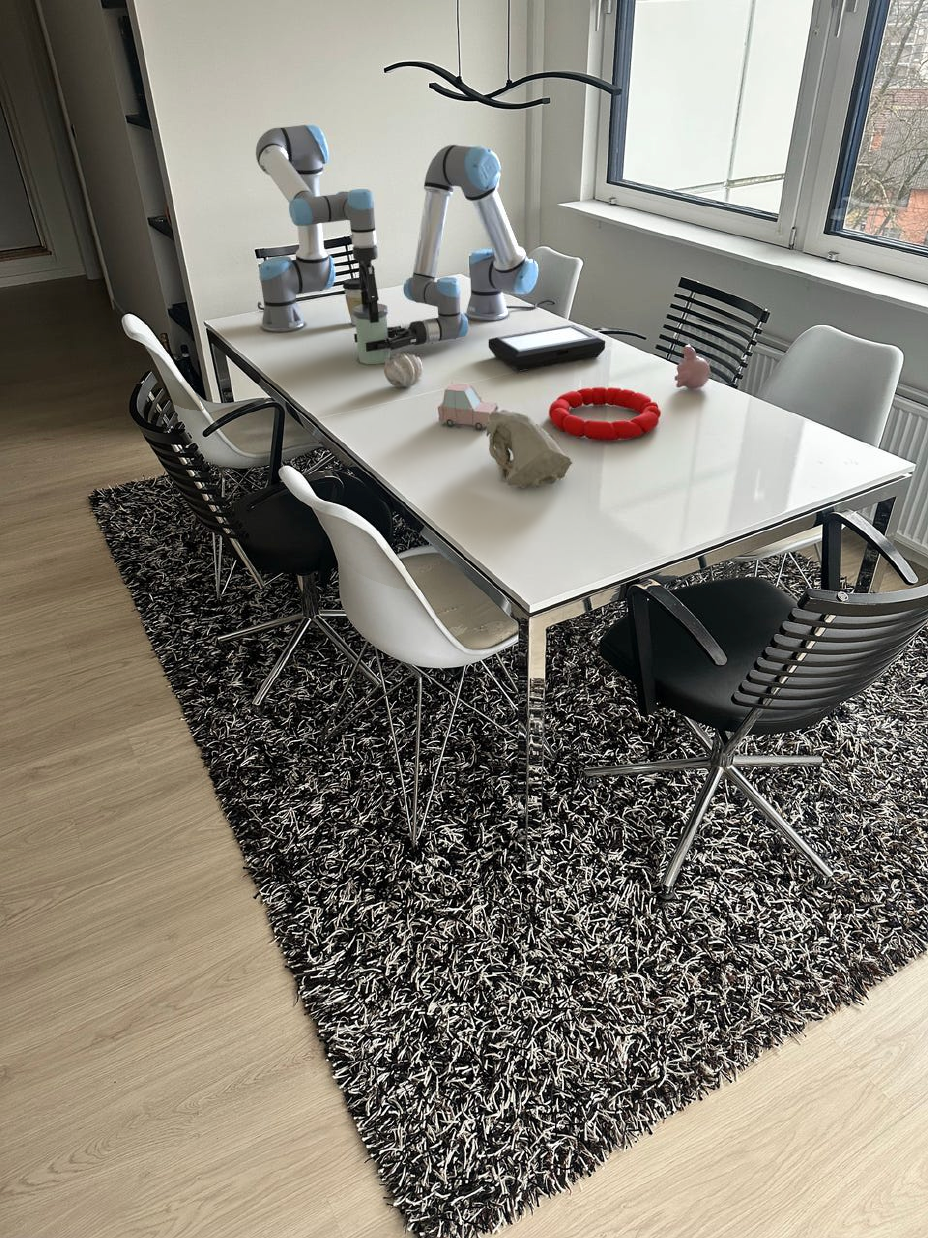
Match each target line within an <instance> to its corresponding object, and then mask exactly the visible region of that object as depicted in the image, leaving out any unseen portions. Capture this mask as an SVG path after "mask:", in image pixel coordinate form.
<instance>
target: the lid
mask: <svg viewBox="0 0 928 1238" xmlns="http://www.w3.org/2000/svg"><path fill="white" fill-rule="evenodd" d="M377 304H378V316H379V318H380V317H383V316H385V315H386V316H387V315H388V306H387V305H385V304H383V303H378V302H377ZM353 315H354V316H355V317H357V318H362V319H370V315H369V304H361V305H358V306H355V307H354V308H353Z"/></svg>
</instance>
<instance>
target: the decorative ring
mask: <svg viewBox="0 0 928 1238" xmlns="http://www.w3.org/2000/svg"><path fill="white" fill-rule="evenodd" d="M583 405H584V406H586V407H587V406H591V405H593V406H604V405H608V406H614V407H619V408H624V409H628V410H632V411H635V412H636V413H638V414H639V415H637V416H635V417H632V418H631V419H630V420H625V419H624V420H623V419H622V420H614V421H611V422H609V421H607V420H606V421H605V420H593V419H587V420H586V421H585V419H584V418H582V417H579V416H577V415H573V414H571V413H570V410H571V409H579V408H581V407H582V406H583ZM548 416H549V419H550V422H551V423H552V425H553V426H554V427H555V428H556V429H558V430H559V431H561V432H563V433H567V434H568V435H569V436H573V437H576V438H580V439H582V438H583V437H585V438H586V439H587V440H591V441H601V442H602V441H603V442H608V441H609V442H610V441H611V442H612V441H615V442H616V441H618V440H630V439H634V438H638V437H641V436H642V434H647V433H650V432H651V431H653V430H654V429H655V428H656V427H657V426H658V424H659V422H660V421H659V420H660V417H661V410H660V408H659V405H658V403H657V402H656V401H652V399H651V397H649V396H648V395H646V394H644V393H642V392H635V391H634V390H632V389H628V388H624V389H622V388H620V387H613V386H612V387H611V386H610V387H608V388H606V387H604V386H594V387H585V388H584V387H583V388H580V389H578V390H571V391H568V392H565V393H563V394H561V395H560V396H558V397H557V398H556V400H554V401H552V403H551V404H550V407H549V409H548Z"/></svg>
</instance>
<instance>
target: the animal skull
mask: <svg viewBox="0 0 928 1238" xmlns="http://www.w3.org/2000/svg"><path fill="white" fill-rule="evenodd" d="M485 436H486V438H487V437H489V438H488V440H489V444H488V445H489V446H488V450H489V454H490V456H491V457H492V458H493V459H494V460H495V462H496V464H497V466H499V468H500V470H501V471H502V472H501V478H502V479H507V480H506V484H507V486H517V487H518V486H519V488H523V489H524V488H526V486H527V485H529V483H531V485H533V486H534V487H536V488H540V485H541V484H542V482H544V483H549V484H550V485H553V484H555V483H556V482H557V480H561V479H563V478H565V476H566V474H567V472H568V471H569V469H570V467H571V466H572V464H573V462H572V461H571V458H570V457H568V456H567V455H565V453H564V451H562V449H561V448H560V446H559V444H557V443H556V439H555V438H554V436H553V435H551V434H550V433H548V432H547V431H546V430H545V429H544V428H542V427H541V426H539V425H538V424H537V423H536V424H535V422H534V421H533V419H532V418H531V417H530V416H529V415H527V414H524V413H519V412H515V411H509V410H507V409H502V410H500V411H499V410H497V411H496V412H492V413H491V414H490V422H488V423H487V427H486V435H485ZM511 453H512V454H511ZM511 455H512V457H513V458H512V460H511ZM507 474H508V475H507Z"/></svg>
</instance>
